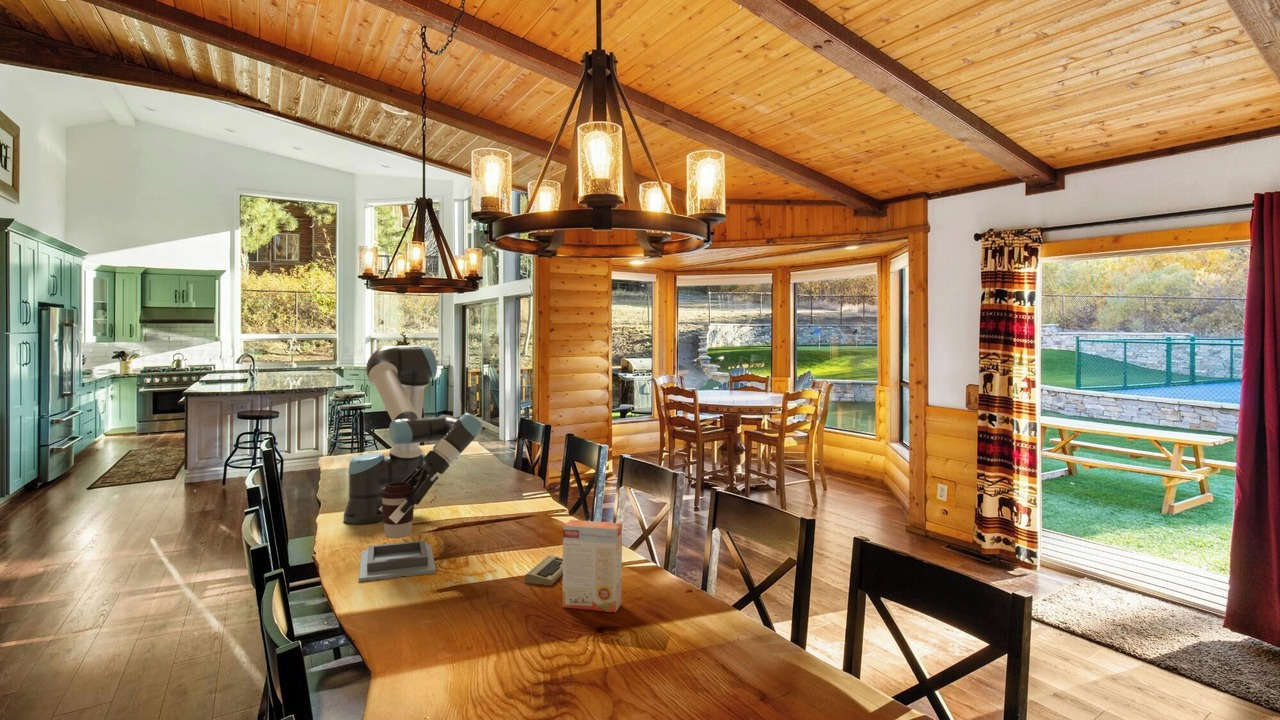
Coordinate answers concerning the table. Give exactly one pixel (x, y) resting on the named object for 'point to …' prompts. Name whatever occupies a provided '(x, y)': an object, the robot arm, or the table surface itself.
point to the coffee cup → (390, 502)
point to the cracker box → (592, 565)
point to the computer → (546, 571)
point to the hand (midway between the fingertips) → (387, 516)
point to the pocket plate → (396, 560)
